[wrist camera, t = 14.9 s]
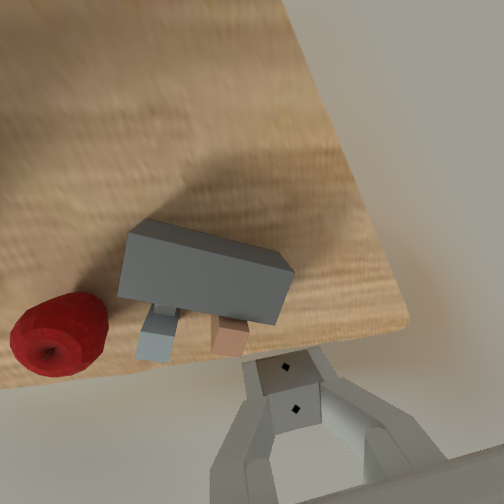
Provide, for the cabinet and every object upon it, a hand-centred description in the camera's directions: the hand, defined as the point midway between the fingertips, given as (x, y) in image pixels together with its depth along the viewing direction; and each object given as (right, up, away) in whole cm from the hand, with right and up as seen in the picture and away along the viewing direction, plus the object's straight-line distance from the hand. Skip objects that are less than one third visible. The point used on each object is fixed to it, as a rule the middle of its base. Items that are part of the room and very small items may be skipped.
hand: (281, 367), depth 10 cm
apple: (-26, -4, +28) cm, 39 cm away
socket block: (-7, +3, +29) cm, 30 cm away
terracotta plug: (-4, -2, +31) cm, 31 cm away
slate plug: (-14, -2, +29) cm, 32 cm away
